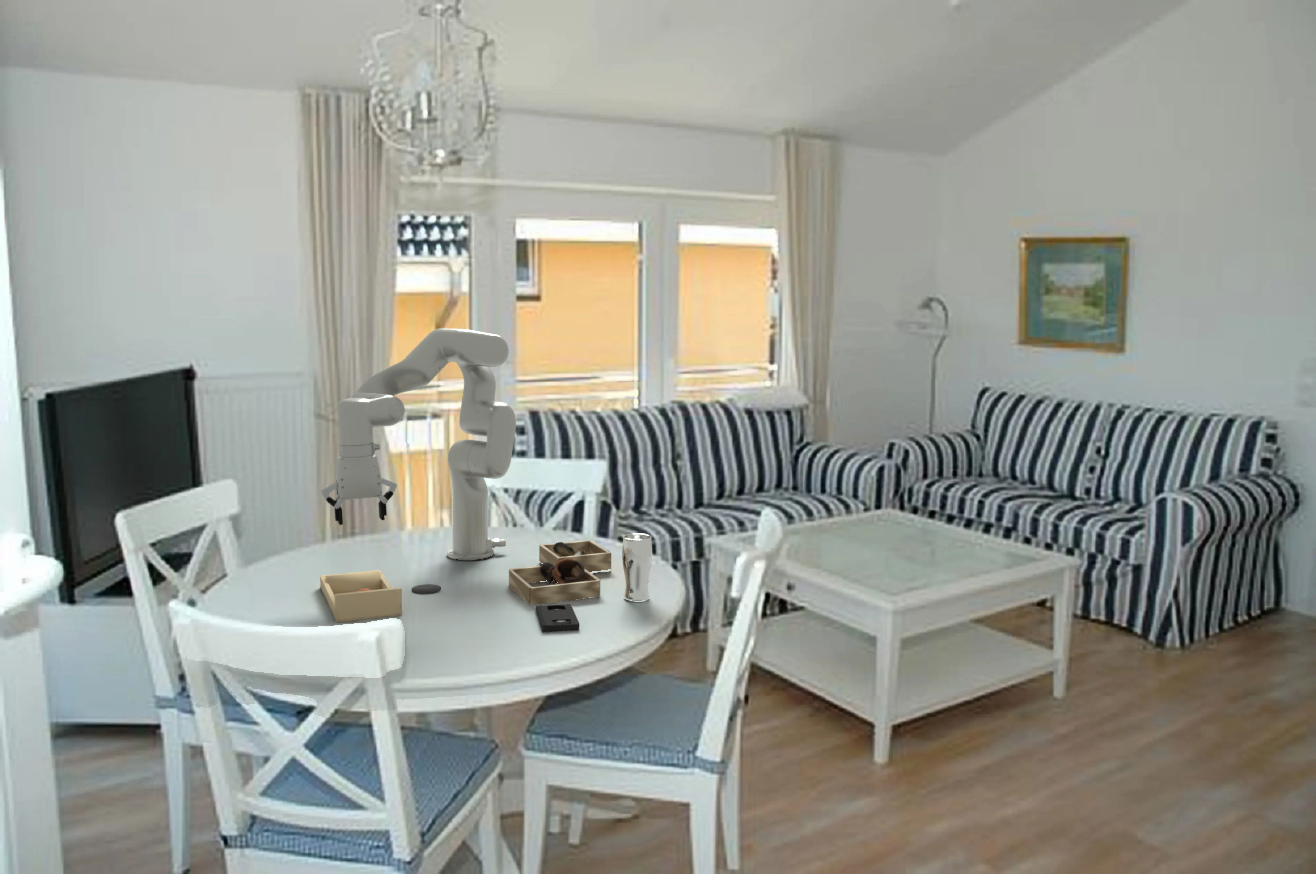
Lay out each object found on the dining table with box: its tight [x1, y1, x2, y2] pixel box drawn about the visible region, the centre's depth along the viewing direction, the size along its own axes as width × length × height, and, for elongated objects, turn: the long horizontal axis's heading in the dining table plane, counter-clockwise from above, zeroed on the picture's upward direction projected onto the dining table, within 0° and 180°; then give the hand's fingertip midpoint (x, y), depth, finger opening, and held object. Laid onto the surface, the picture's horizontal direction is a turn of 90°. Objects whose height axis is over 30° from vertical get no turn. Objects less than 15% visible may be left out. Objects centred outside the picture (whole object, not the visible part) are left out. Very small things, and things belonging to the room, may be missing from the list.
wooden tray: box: [538, 539, 612, 572], centre depth 262 cm, size 15×15×5 cm
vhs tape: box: [535, 603, 580, 633], centre depth 219 cm, size 14×8×2 cm, turn 13°
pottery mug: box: [539, 559, 587, 585], centre depth 243 cm, size 12×10×8 cm
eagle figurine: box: [553, 541, 587, 557], centre depth 261 cm, size 8×7×9 cm
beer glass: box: [621, 532, 653, 601], centre depth 235 cm, size 7×7×15 cm
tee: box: [411, 583, 442, 595], centre depth 240 cm, size 7×7×1 cm
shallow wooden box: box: [508, 565, 601, 606], centre depth 240 cm, size 18×18×4 cm
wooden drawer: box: [319, 569, 403, 624], centre depth 230 cm, size 14×28×10 cm, turn 25°
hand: (361, 521), depth 238 cm, fingers open, 9 cm apart
